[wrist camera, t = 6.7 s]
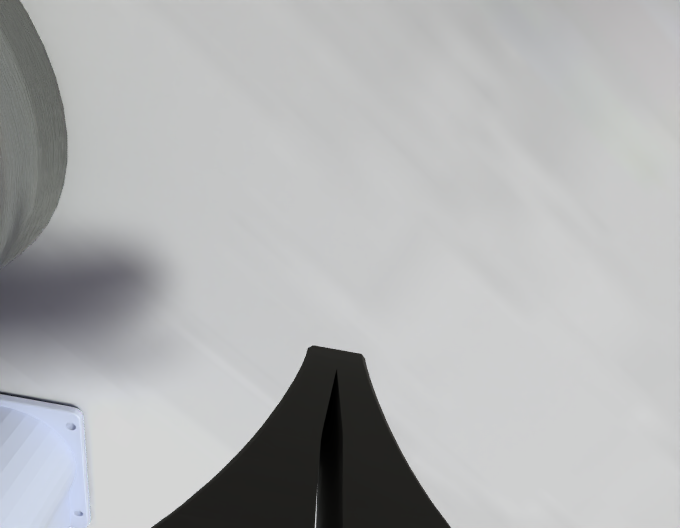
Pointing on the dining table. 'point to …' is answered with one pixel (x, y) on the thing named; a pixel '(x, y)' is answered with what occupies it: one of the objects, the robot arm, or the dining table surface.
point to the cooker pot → (27, 134)
